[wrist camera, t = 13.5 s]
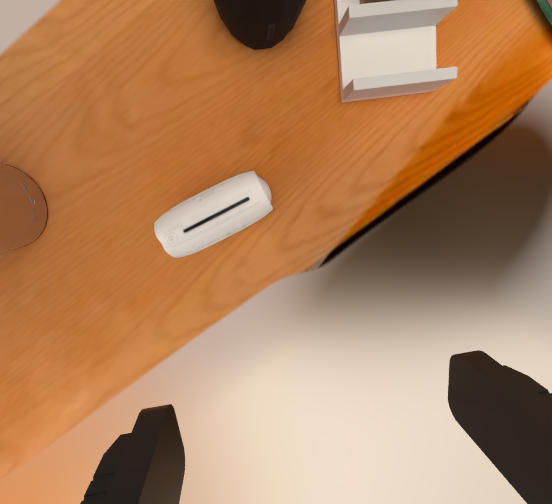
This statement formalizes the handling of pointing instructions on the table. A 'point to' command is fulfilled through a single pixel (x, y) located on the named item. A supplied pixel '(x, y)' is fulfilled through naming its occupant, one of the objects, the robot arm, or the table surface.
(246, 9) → the portable speaker
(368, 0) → the walnut block
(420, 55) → the slotted rack
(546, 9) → the puzzle game
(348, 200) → the table surface
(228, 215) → the photo printer
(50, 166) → the table surface
